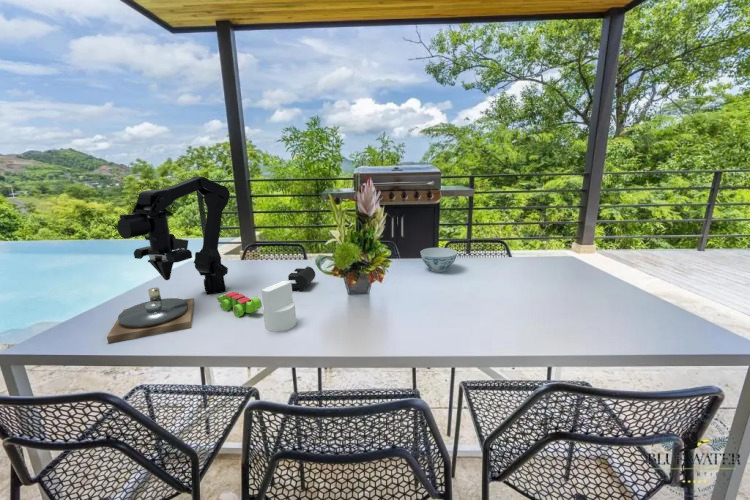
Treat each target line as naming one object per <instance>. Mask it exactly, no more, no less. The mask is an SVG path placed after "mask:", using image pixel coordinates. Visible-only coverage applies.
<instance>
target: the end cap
mask: <svg viewBox="0 0 750 500" xmlns="http://www.w3.org/2000/svg"><path fill="white" fill-rule="evenodd" d="M287 278H288V280H287V281H294V282H291V285H292V292H302V291H304V290H305V289H307V287H308V286H309V285H310V284H311V283H312V282H313V280H315V278H316V271H315V270H314V268H313V267H311V266H306V267H305V268H298V267H297V268H295V269H294V272H290V273H289V274H288V275H287Z"/></svg>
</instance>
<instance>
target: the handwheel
mask: <svg viewBox="0 0 750 500" xmlns="http://www.w3.org/2000/svg"><path fill="white" fill-rule="evenodd" d="M147 292H148V296H149V301H145V302H141V303H139V304H136V305H132V306H130V307H128V308H125V309H126V310H125V311H123V310H122V311H123V312H122V311H121V313H119V315H118V317H117V319H118V320H119V324H120V325H121V326H123V327H126V328H143V327H150V326H155V325H159V324H163V323H166V322H169V321H172V320H174V319H176V318H178V317H180V316H182V315H183V314H185V313H186V312H187V310H188V303H187V301H185V300H184V299H183V298H179V297H178V298H175V297H172V298H171V297H170V298H162V297H161V291H160V287H151V288H149V289H147Z"/></svg>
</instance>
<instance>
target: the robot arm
mask: <svg viewBox="0 0 750 500" xmlns="http://www.w3.org/2000/svg"><path fill="white" fill-rule="evenodd" d="M195 192H198V193H199V194H200V195H202V196H203V199H204V204H205V206H206V208H207V211H206V212H207V213H206V220H205V228H204V235H203V243H202V248H201V250H199V251H196V252H195V254H194V261H193V264H194V268H195V269H196V271H198V273H199V276H201V277H202V276H204V278H203V286H204V291H205V292H206V295H210V294H211V295H212V294H217V293H223V292H227V288H226V283H225V276H226V275H228V271H229V268H228V267H227V266H226V265H224V264H223V263H222V257H221V254H220V252H219V250H218V249H219V243H220V242H219V241H220V240H219V239H220V232H221V225H222V216H223V211H224V210H225V208H226V207H227V205H228V204H229V200H230V197H231V192H230V190H229V188H228V187H227V186H225V185H222V184H220V183H218V182H215V181H212V180H210V179H209V178H208V177H205V176H193V177H191V178H189V179H186V180H184V181H181V182H178V183H175V184H172V185H170V186H168V187H165V188H159V189H150V190H144V191H141V192H139V194H138V197H137V201H136V203H135V205H134V208H133V209H132V212H131V213H128V214H119V219H118V222H117V226H116V230H117V233H118V235H119V236H120V237H121V238H123V239H125V240H127V239H128V240H129V239H132V238H137V237H141V236H145V237H144V239H145V241H149V245H148V246H144V247H140V248H136V249H134V252H133V256H134V259H137V260H138V259H139V260H141V259H143V257H145V256H146V257H147V256H149V260H148V259H147V262H148V263H149V264H151V266H152V267H153V268H154V269H155V270H156V271H157V272H158V274H159V275H160V277H162V278H163V280H164V281H169V280H171V275H172V270H173V266H174V264H176V263H180V262H184V261H187V260H189V259H192V258H193V254H192V251H191V250H190V249H188V246H189V240H188V239H182V238H176V236H175V235H174V233H171V232H170V229H169V223H168V217H170V216H173V215H174V213H173V212H172V211H170V210H168V209H167V208H168V207H170V206H171V205H172V204H173V203H174V201H177V200H178V199H180V198H183V197H184V196H187V195H190V194H192V193H195ZM146 235H148V236H146Z"/></svg>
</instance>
